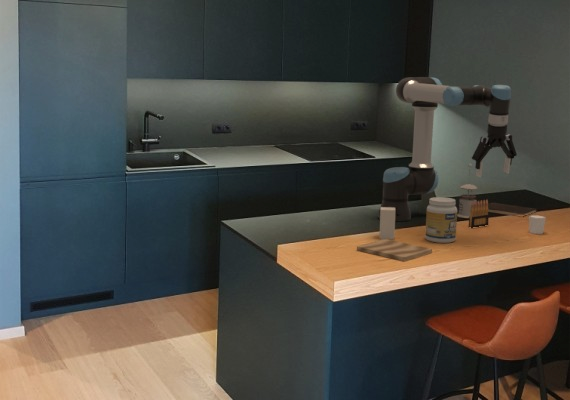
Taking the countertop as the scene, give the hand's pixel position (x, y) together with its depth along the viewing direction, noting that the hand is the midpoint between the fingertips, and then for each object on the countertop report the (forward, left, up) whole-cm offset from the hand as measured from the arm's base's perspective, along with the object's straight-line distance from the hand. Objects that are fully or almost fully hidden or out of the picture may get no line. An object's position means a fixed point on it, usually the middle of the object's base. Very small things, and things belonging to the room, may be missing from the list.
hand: (492, 174), depth 293 cm
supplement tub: (-10, -20, -26) cm, 35 cm away
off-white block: (-28, -32, -26) cm, 50 cm away
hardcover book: (-20, +56, -27) cm, 65 cm away
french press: (-28, +32, -26) cm, 50 cm away
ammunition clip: (-12, +14, -26) cm, 32 cm away
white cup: (+11, +22, -26) cm, 36 cm away
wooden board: (-12, -49, -26) cm, 57 cm away
